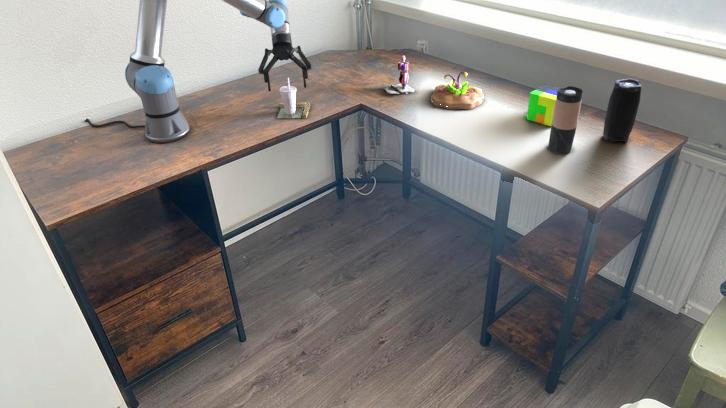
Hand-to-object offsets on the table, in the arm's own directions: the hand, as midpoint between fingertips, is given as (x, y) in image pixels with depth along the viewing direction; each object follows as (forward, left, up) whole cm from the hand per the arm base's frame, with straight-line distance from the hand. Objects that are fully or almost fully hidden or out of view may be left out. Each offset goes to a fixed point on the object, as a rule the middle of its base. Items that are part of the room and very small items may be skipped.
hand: (287, 88), depth 210 cm
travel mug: (+94, -36, -8) cm, 101 cm away
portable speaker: (+114, -29, -8) cm, 118 cm away
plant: (+65, +5, -8) cm, 66 cm away
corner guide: (+2, -5, -8) cm, 9 cm away
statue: (+42, +14, -8) cm, 45 cm away
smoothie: (+1, -6, -8) cm, 10 cm away
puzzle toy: (+95, -13, -8) cm, 97 cm away
